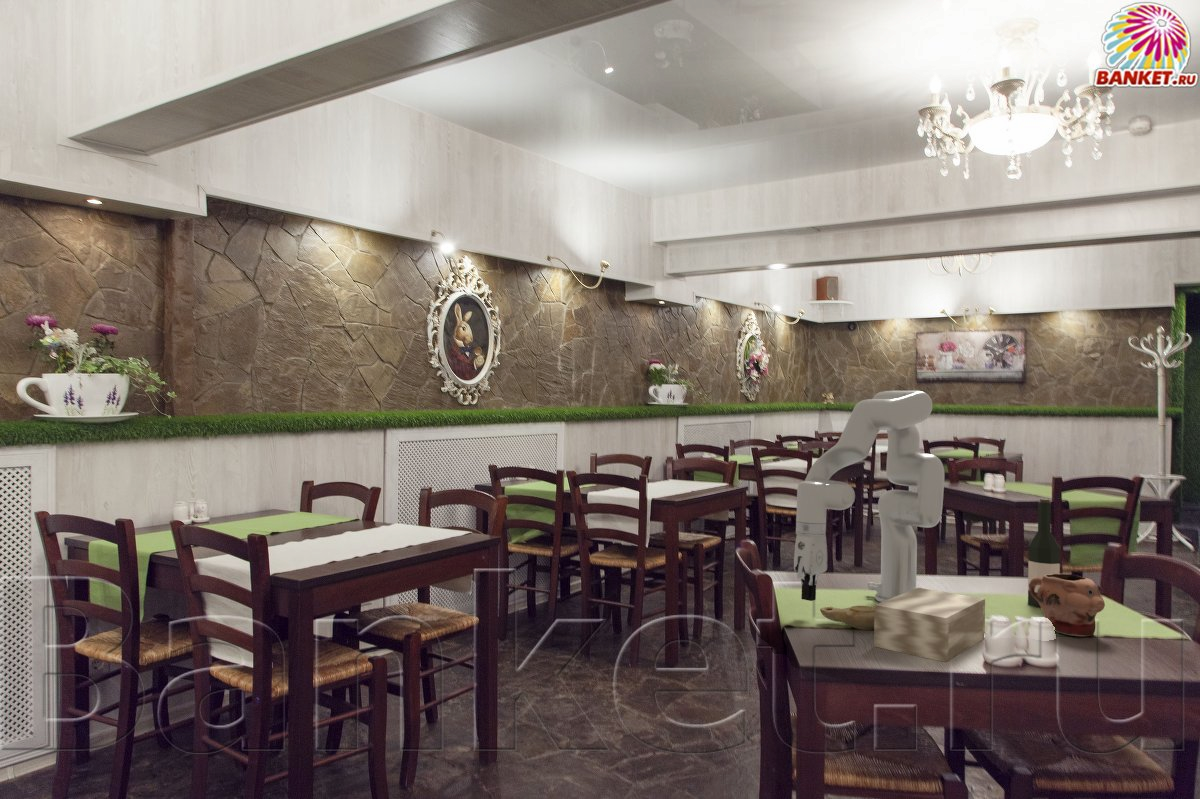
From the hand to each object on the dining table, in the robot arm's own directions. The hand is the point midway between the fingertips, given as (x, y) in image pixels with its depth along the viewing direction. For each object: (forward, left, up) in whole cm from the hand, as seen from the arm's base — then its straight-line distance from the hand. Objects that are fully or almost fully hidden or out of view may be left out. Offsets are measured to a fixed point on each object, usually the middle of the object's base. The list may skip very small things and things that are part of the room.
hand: (808, 599), depth 209 cm
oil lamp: (+12, +1, -5) cm, 13 cm away
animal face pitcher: (+51, +36, -5) cm, 63 cm away
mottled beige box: (+31, +1, -5) cm, 32 cm away
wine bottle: (+40, +62, -5) cm, 74 cm away
